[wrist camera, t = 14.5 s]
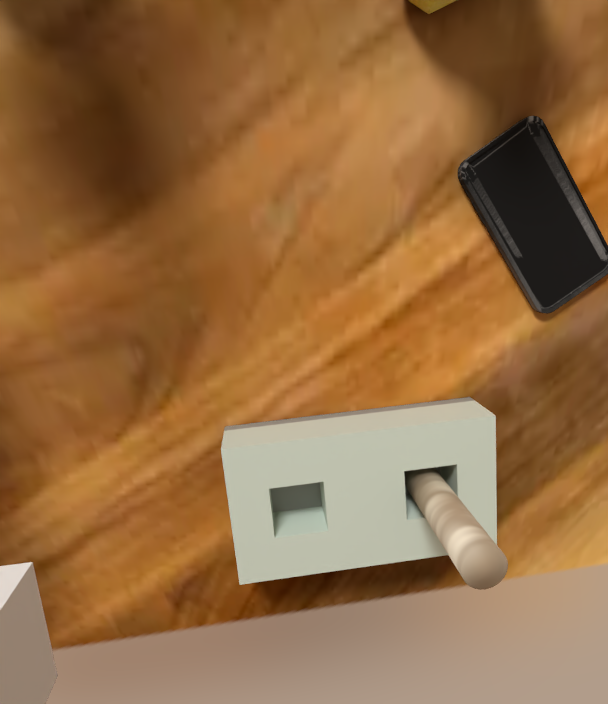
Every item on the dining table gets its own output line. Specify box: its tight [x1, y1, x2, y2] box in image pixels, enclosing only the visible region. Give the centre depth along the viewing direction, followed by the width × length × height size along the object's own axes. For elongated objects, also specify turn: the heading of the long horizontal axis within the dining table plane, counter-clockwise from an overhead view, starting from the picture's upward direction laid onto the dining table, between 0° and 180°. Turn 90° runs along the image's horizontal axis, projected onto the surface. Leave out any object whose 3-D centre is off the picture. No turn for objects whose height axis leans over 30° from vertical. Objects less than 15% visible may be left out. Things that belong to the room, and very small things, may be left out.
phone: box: [458, 116, 608, 313], centre depth 42 cm, size 8×1×15 cm
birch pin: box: [404, 467, 508, 589], centre depth 38 cm, size 3×3×14 cm
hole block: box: [221, 397, 497, 585], centre depth 43 cm, size 22×12×5 cm, turn 96°
